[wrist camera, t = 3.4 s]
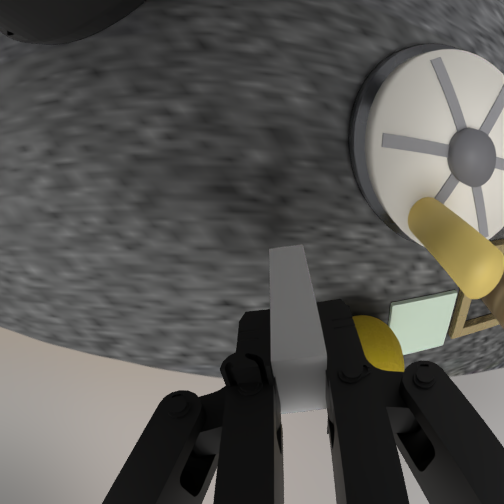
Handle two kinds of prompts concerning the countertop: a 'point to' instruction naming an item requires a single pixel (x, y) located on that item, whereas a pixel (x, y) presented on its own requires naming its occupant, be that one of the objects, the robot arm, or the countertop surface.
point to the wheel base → (360, 123)
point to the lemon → (379, 343)
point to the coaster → (422, 321)
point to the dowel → (496, 301)
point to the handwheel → (443, 160)
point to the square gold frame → (462, 306)
